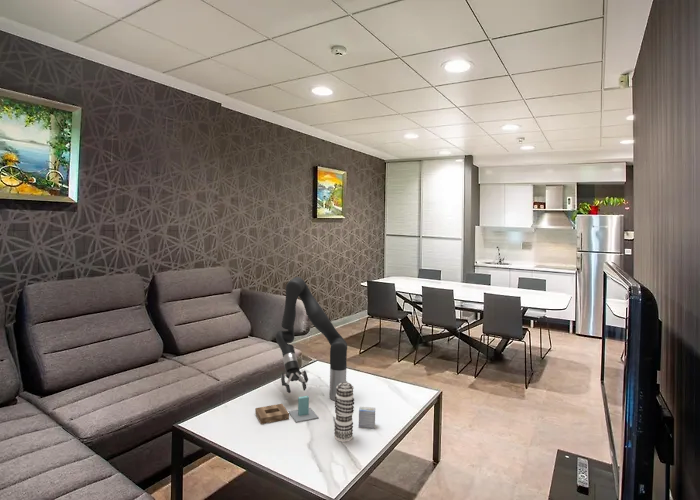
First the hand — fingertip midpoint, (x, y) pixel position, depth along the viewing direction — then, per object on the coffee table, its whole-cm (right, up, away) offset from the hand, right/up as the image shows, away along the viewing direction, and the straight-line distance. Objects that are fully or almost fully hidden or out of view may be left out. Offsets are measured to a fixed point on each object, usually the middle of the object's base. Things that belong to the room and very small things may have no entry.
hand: (297, 391), depth 222 cm
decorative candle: (+25, -12, -28) cm, 39 cm away
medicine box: (+36, -11, -17) cm, 42 cm away
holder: (-11, -9, -10) cm, 18 cm away
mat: (+4, -10, -8) cm, 13 cm away
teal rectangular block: (+4, -9, -8) cm, 13 cm away
